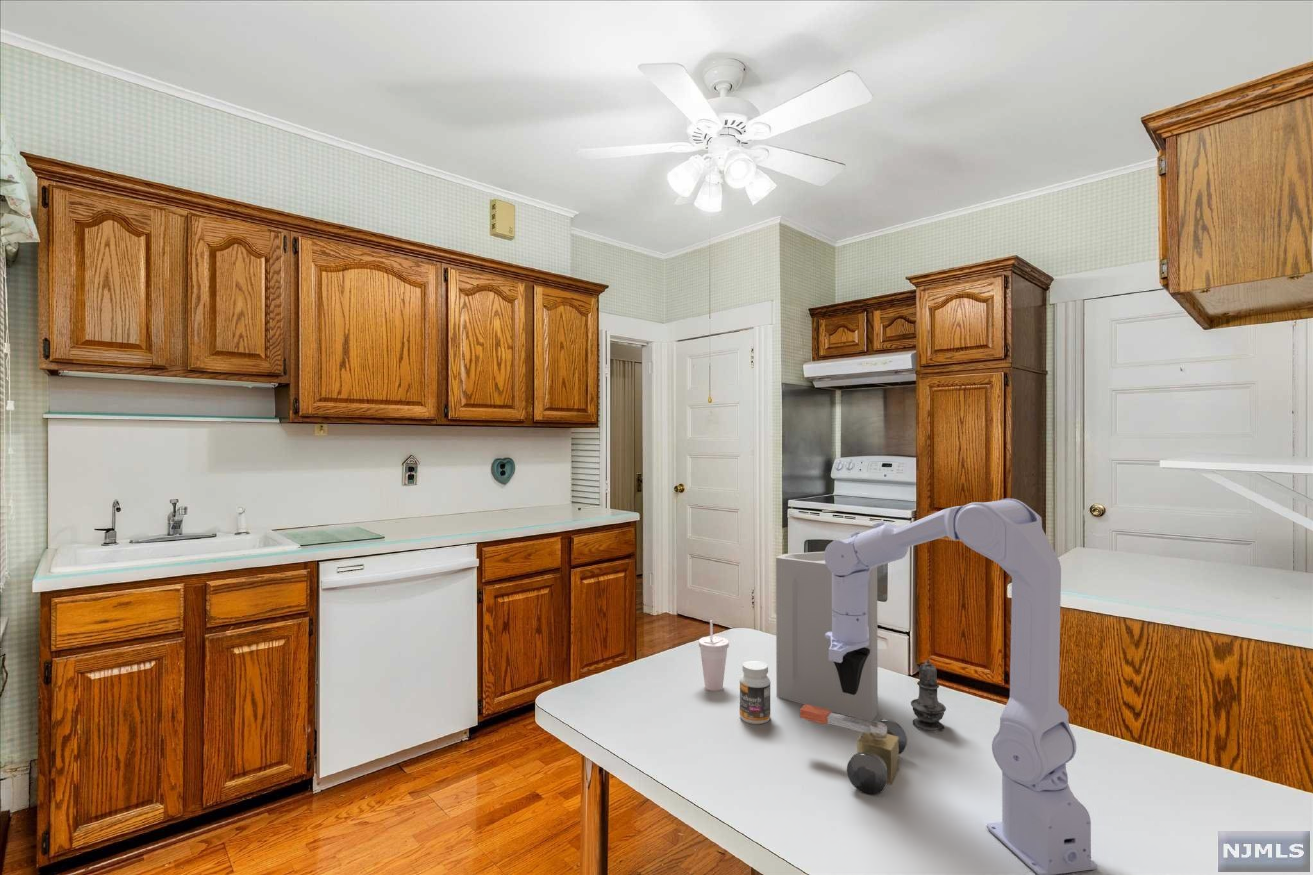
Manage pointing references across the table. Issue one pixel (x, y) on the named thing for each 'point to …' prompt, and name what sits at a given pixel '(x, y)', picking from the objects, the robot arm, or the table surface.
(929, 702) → the salt shaker
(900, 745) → the valve
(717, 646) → the smoothie
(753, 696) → the pill bottle
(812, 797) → the table surface
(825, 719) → the valve lever
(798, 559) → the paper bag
